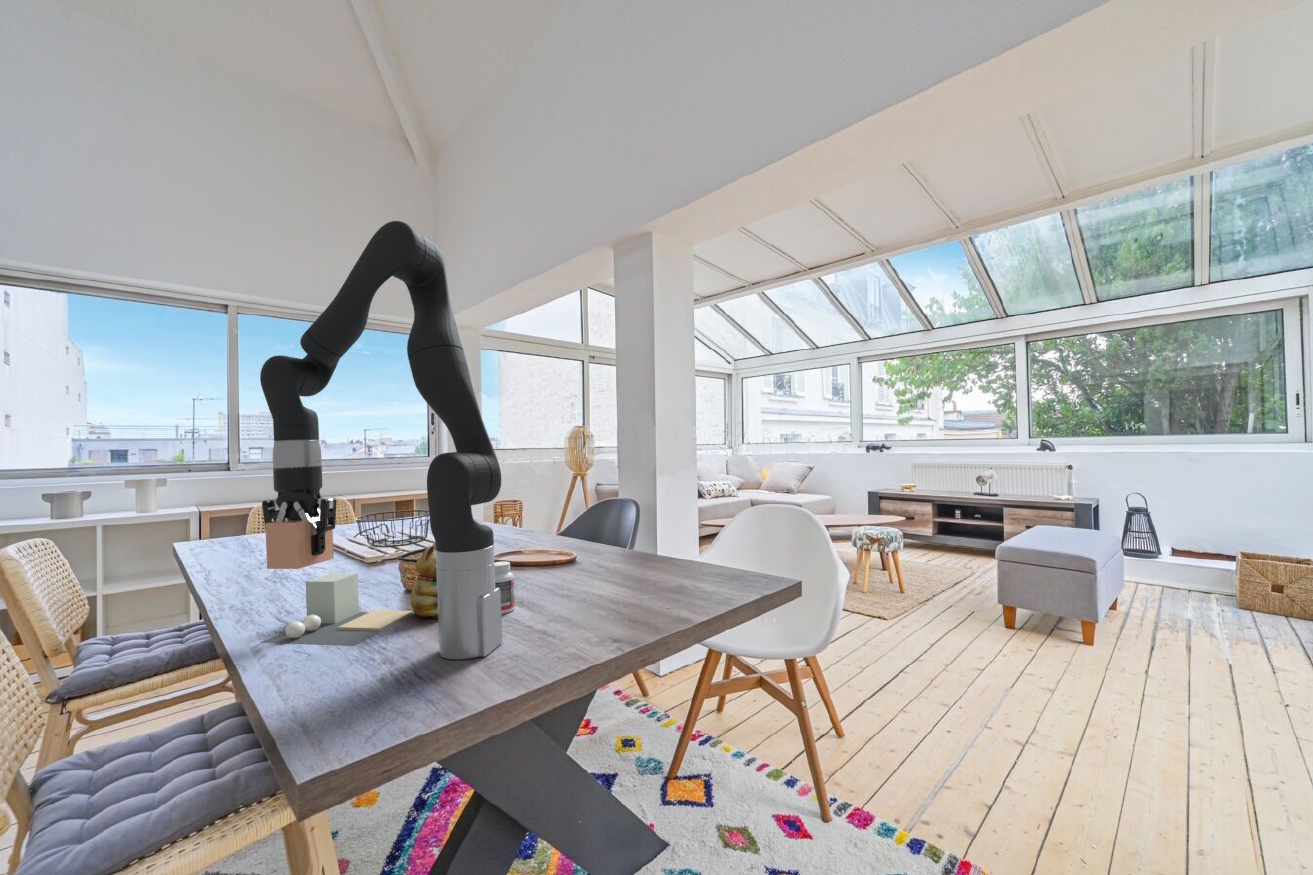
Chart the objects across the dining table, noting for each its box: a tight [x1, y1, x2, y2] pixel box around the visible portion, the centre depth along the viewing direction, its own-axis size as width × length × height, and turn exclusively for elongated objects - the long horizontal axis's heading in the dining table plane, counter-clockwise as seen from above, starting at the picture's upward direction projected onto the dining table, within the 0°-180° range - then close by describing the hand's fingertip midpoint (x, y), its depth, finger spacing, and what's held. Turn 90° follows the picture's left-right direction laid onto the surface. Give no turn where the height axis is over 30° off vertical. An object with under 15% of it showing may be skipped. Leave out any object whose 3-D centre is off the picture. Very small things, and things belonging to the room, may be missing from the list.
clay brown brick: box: [264, 516, 335, 570], centre depth 99 cm, size 6×8×8 cm
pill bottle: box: [494, 561, 516, 615], centre depth 110 cm, size 5×5×10 cm
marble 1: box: [284, 620, 305, 639], centre depth 97 cm, size 3×3×3 cm
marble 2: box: [302, 615, 321, 631], centre depth 101 cm, size 3×3×3 cm
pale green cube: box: [305, 572, 360, 623], centre depth 108 cm, size 6×6×8 cm
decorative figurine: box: [410, 543, 438, 620], centre depth 109 cm, size 10×8×15 cm
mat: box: [260, 609, 416, 647], centre depth 102 cm, size 19×17×1 cm
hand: (301, 554), depth 99 cm, fingers closed on clay brown brick, 6 cm apart
